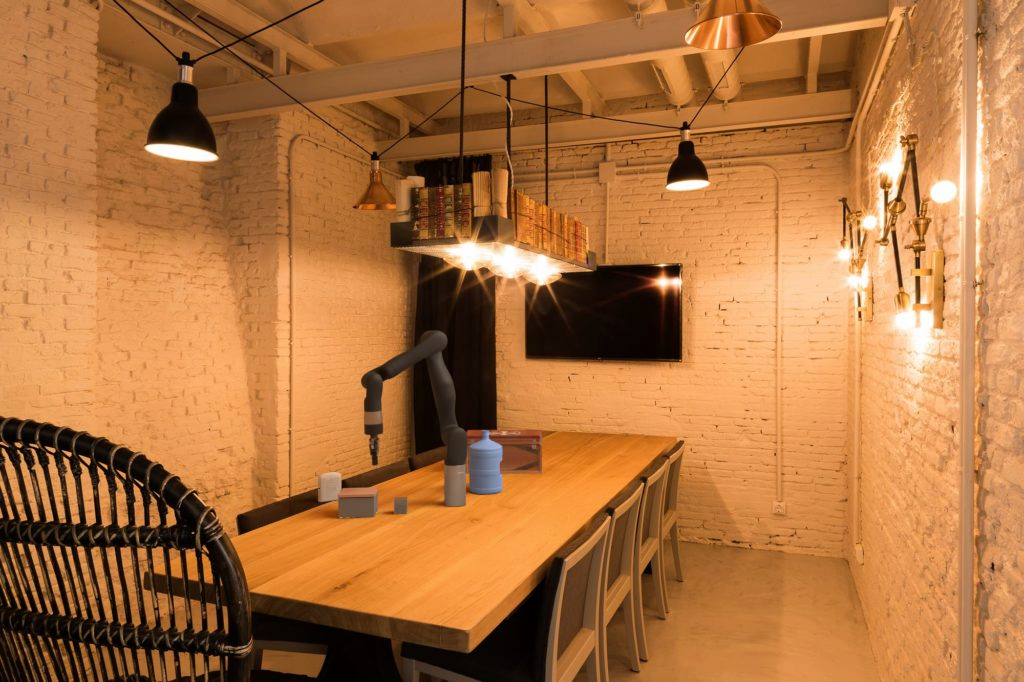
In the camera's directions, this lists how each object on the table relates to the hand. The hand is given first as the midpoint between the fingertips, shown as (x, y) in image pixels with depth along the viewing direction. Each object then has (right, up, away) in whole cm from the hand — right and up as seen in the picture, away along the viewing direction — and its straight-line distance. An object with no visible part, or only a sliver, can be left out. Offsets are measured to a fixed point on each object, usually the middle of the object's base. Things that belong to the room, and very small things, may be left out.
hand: (375, 464), depth 275 cm
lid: (-7, -12, +2) cm, 14 cm away
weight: (+10, -20, +4) cm, 23 cm away
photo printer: (-25, -20, +25) cm, 41 cm away
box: (-7, -20, +3) cm, 22 cm away
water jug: (+43, -20, +41) cm, 63 cm away
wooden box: (+51, -19, +89) cm, 104 cm away
